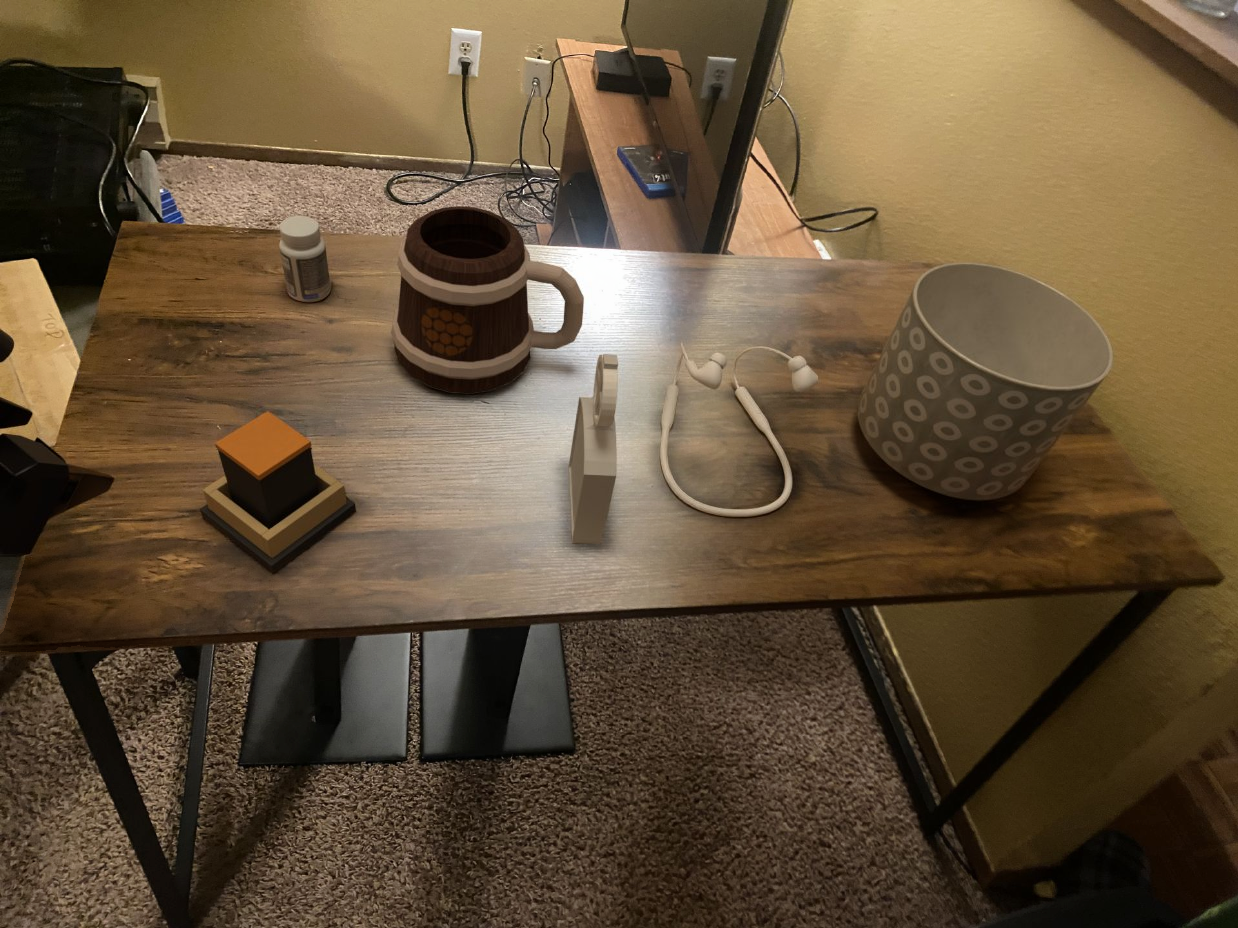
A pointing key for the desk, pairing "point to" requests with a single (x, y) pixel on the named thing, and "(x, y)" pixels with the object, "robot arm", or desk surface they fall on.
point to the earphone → (712, 379)
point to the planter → (980, 379)
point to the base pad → (287, 534)
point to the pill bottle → (304, 259)
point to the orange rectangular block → (268, 469)
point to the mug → (472, 301)
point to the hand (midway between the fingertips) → (68, 449)
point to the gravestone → (594, 456)
